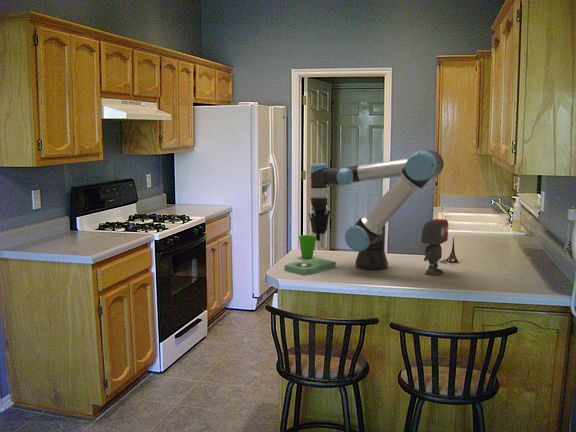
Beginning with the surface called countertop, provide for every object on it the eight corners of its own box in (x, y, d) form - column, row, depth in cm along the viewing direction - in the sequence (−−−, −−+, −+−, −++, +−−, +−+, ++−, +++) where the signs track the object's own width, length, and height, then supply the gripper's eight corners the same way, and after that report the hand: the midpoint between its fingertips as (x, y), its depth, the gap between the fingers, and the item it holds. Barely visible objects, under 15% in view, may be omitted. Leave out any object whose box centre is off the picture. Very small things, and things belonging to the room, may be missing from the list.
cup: (314, 260, 278) (315, 238, 277) (296, 259, 280) (296, 237, 278) (317, 256, 287) (317, 235, 285) (299, 255, 289) (300, 234, 287)
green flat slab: (315, 262, 275) (315, 257, 274) (337, 267, 265) (337, 262, 264) (282, 270, 259) (283, 264, 259) (305, 275, 249) (305, 270, 249)
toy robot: (435, 279, 244) (439, 211, 239) (415, 276, 248) (418, 209, 244) (450, 269, 262) (453, 205, 257) (431, 267, 267) (433, 203, 262)
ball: (307, 270, 260) (309, 266, 258) (302, 272, 258) (304, 268, 256) (303, 265, 261) (305, 261, 259) (298, 267, 260) (300, 263, 257)
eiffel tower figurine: (449, 258, 287) (450, 232, 285) (468, 262, 280) (469, 235, 278) (434, 263, 276) (436, 236, 274) (454, 267, 269) (455, 239, 267)
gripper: (322, 195, 268) (322, 244, 271) (303, 197, 259) (304, 248, 262) (334, 196, 263) (334, 246, 266) (315, 198, 254) (316, 250, 257)
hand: (319, 247), depth 264 cm, fingers closed
